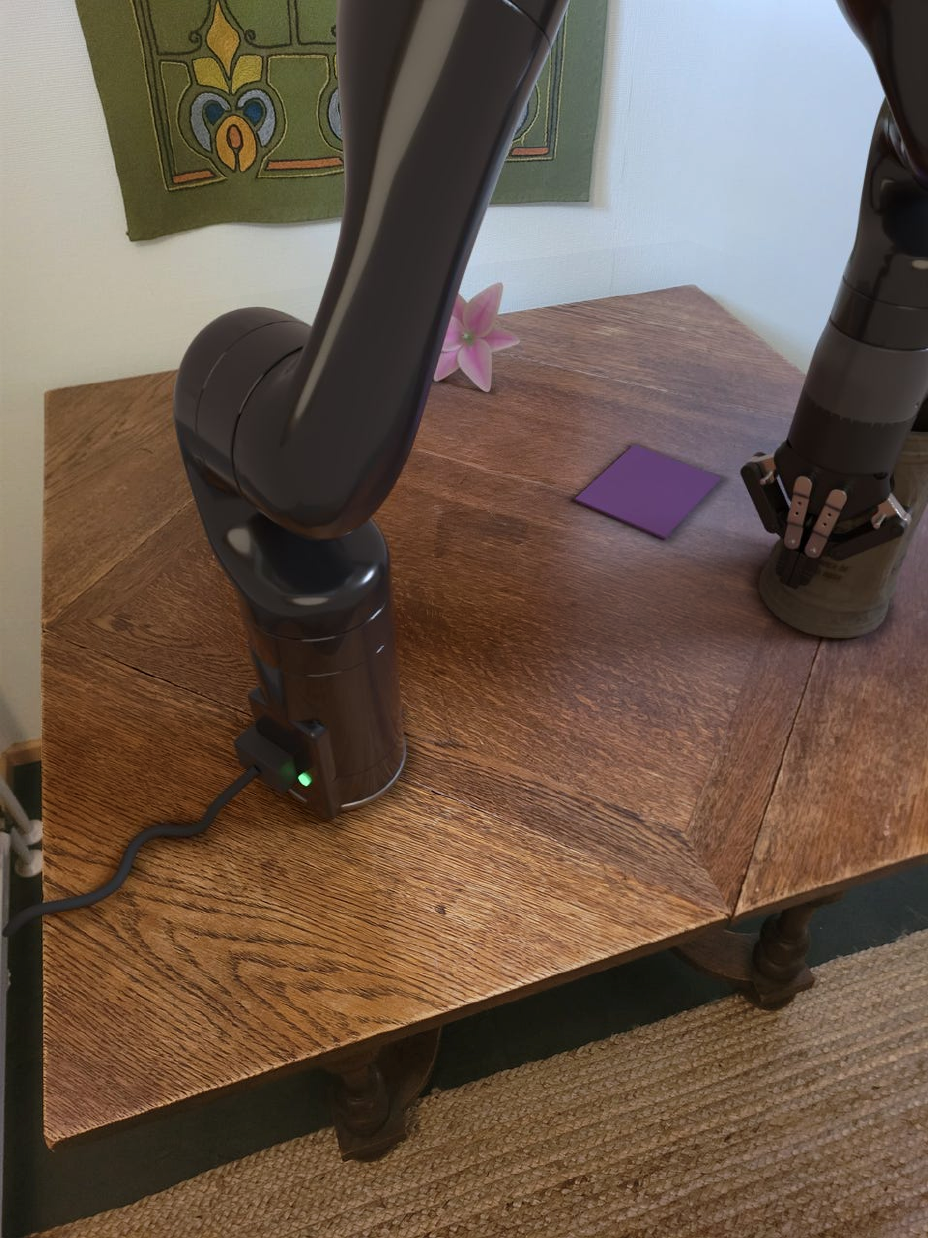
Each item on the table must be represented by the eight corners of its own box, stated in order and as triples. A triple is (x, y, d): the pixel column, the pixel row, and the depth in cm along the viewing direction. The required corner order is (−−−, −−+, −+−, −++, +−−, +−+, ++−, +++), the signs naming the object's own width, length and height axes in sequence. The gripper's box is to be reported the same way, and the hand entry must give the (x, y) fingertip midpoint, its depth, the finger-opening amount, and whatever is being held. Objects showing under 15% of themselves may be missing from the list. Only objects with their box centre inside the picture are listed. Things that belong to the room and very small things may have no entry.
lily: (400, 367, 108) (392, 321, 98) (464, 304, 110) (461, 253, 100) (474, 425, 105) (472, 382, 96) (537, 359, 107) (541, 311, 98)
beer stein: (881, 661, 71) (984, 443, 58) (748, 626, 74) (817, 411, 61) (886, 557, 82) (974, 354, 69) (769, 530, 85) (833, 330, 72)
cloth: (664, 539, 82) (665, 537, 82) (574, 500, 87) (574, 498, 86) (720, 479, 89) (720, 477, 89) (633, 446, 94) (634, 444, 93)
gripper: (747, 379, 59) (696, 572, 71) (949, 447, 54) (856, 643, 66) (790, 339, 64) (735, 527, 76) (981, 397, 58) (888, 590, 70)
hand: (792, 581), depth 71 cm, fingers closed
